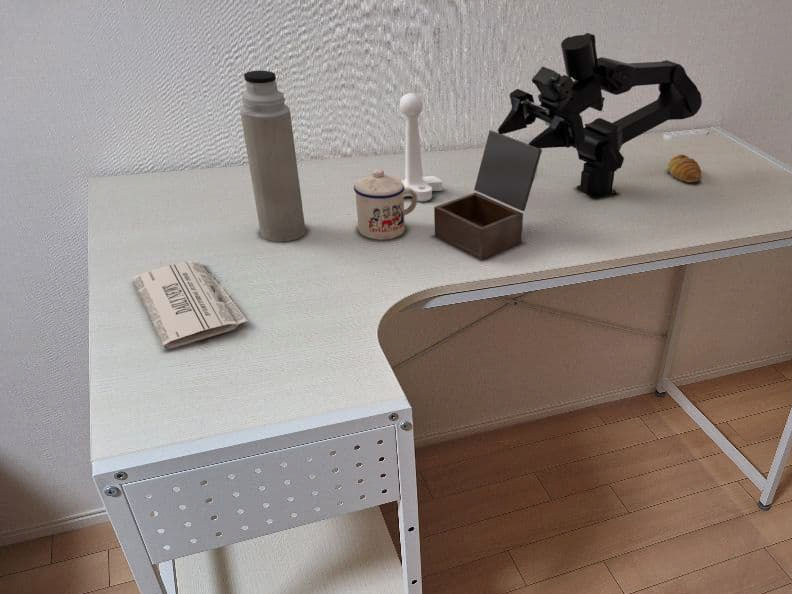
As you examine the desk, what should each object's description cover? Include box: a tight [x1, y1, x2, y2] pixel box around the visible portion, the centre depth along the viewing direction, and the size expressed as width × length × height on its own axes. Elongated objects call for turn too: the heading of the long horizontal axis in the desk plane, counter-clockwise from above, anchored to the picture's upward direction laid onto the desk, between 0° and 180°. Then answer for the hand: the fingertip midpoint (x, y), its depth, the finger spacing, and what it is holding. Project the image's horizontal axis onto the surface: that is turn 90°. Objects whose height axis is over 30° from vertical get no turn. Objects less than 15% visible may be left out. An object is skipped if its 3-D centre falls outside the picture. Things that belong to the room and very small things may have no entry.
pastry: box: [667, 154, 702, 183], centre depth 177 cm, size 9×7×4 cm
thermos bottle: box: [239, 70, 306, 242], centre depth 134 cm, size 8×8×28 cm
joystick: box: [399, 92, 443, 203], centre depth 153 cm, size 11×8×20 cm
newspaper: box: [132, 259, 248, 350], centre depth 120 cm, size 23×12×2 cm, turn 33°
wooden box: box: [433, 192, 524, 261], centre depth 143 cm, size 11×13×6 cm
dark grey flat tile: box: [473, 129, 543, 212], centre depth 142 cm, size 11×13×1 cm
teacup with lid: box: [353, 168, 418, 241], centre depth 142 cm, size 12×9×12 cm
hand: (513, 139), depth 145 cm, fingers open, 9 cm apart
